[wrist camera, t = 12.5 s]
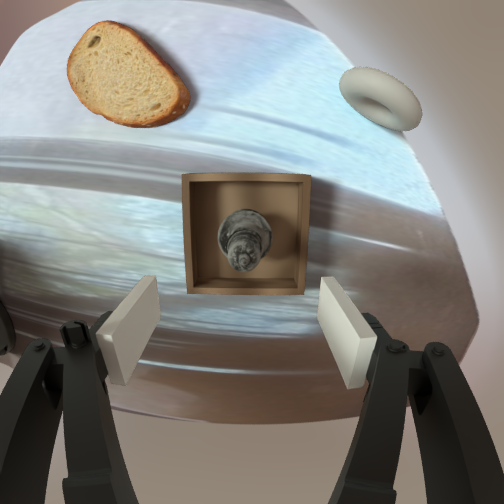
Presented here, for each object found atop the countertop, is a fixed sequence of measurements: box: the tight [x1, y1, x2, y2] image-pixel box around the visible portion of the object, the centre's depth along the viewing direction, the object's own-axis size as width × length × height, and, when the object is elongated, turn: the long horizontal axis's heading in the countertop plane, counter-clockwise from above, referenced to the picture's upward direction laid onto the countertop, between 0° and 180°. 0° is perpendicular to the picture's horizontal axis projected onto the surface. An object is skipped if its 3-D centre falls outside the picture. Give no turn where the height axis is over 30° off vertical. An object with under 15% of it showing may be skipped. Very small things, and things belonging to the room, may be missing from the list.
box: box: [182, 173, 311, 295], centre depth 33 cm, size 14×14×4 cm
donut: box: [339, 67, 422, 131], centre depth 26 cm, size 10×4×10 cm, turn 63°
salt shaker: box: [218, 209, 273, 272], centre depth 28 cm, size 6×6×12 cm
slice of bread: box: [67, 21, 191, 128], centre depth 27 cm, size 18×18×4 cm
